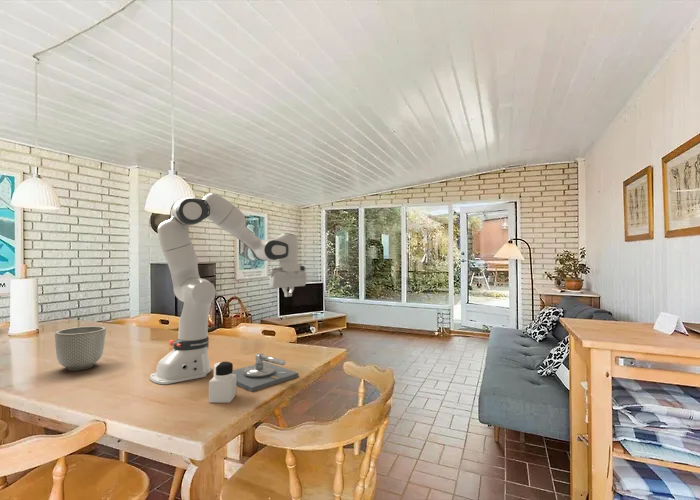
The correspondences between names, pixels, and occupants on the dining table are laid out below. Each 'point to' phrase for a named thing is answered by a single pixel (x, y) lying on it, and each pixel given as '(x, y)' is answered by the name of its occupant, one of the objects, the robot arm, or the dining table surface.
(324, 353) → the dining table surface
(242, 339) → the dining table surface
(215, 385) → the medicine bottle
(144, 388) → the dining table surface
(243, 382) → the base plate
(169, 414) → the dining table surface
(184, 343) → the robot arm
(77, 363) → the planter
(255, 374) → the capstan dial
